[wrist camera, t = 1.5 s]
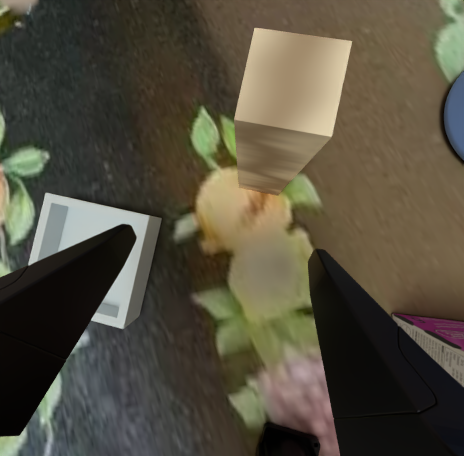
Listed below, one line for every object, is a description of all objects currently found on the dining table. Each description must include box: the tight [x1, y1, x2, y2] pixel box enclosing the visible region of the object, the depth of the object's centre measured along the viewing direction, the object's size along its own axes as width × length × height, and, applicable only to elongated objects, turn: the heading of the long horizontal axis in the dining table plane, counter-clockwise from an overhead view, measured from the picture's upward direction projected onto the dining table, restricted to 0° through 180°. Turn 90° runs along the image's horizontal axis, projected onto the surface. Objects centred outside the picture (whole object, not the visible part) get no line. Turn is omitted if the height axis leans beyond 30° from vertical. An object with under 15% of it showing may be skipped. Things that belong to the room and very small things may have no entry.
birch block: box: [234, 28, 352, 195], centre depth 15 cm, size 5×5×13 cm
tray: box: [28, 193, 162, 329], centre depth 21 cm, size 13×13×3 cm
